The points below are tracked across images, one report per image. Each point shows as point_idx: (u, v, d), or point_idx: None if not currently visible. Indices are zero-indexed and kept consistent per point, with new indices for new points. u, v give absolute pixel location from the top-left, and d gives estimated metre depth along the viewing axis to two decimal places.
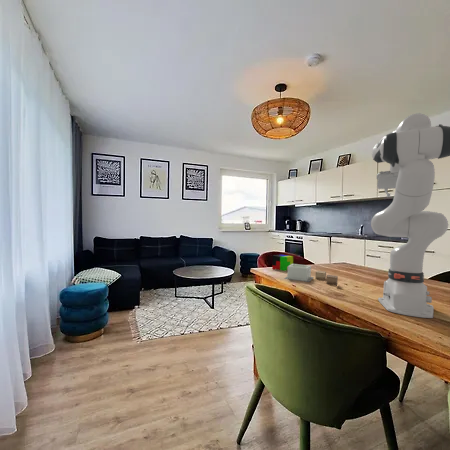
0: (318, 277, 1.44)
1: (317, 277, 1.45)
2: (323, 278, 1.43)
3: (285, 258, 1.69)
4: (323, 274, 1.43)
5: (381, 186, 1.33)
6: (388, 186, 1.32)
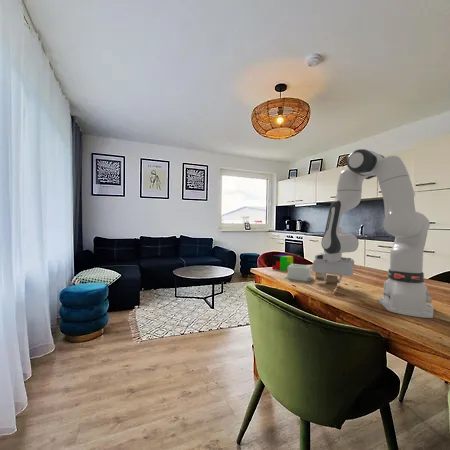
0: (318, 277, 1.44)
1: (317, 277, 1.45)
2: (323, 278, 1.43)
3: (285, 258, 1.69)
4: None
5: None
6: None
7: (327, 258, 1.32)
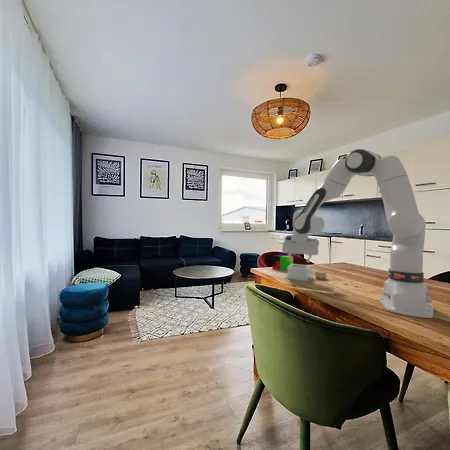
0: (318, 277, 1.44)
1: (317, 277, 1.45)
2: (323, 278, 1.43)
3: (285, 258, 1.69)
4: (323, 274, 1.43)
5: None
6: None
7: (294, 239, 1.44)
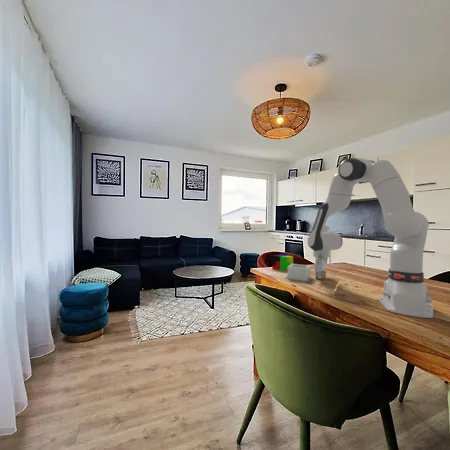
0: None
1: (317, 277, 1.45)
2: (323, 278, 1.43)
3: (285, 258, 1.69)
4: (323, 274, 1.43)
5: (322, 270, 1.38)
6: (322, 269, 1.41)
7: None
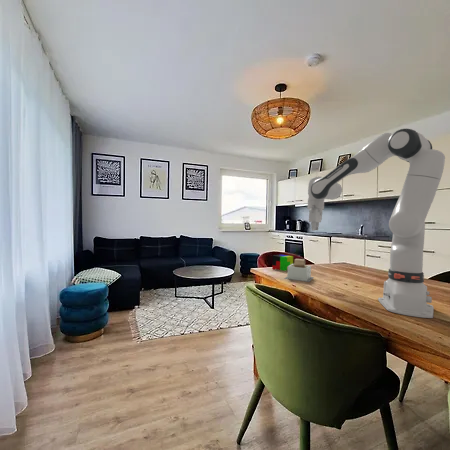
0: (297, 265, 1.44)
1: (296, 265, 1.44)
2: (302, 265, 1.43)
3: (285, 258, 1.69)
4: (302, 261, 1.43)
5: (316, 220, 1.35)
6: (317, 220, 1.38)
7: None
